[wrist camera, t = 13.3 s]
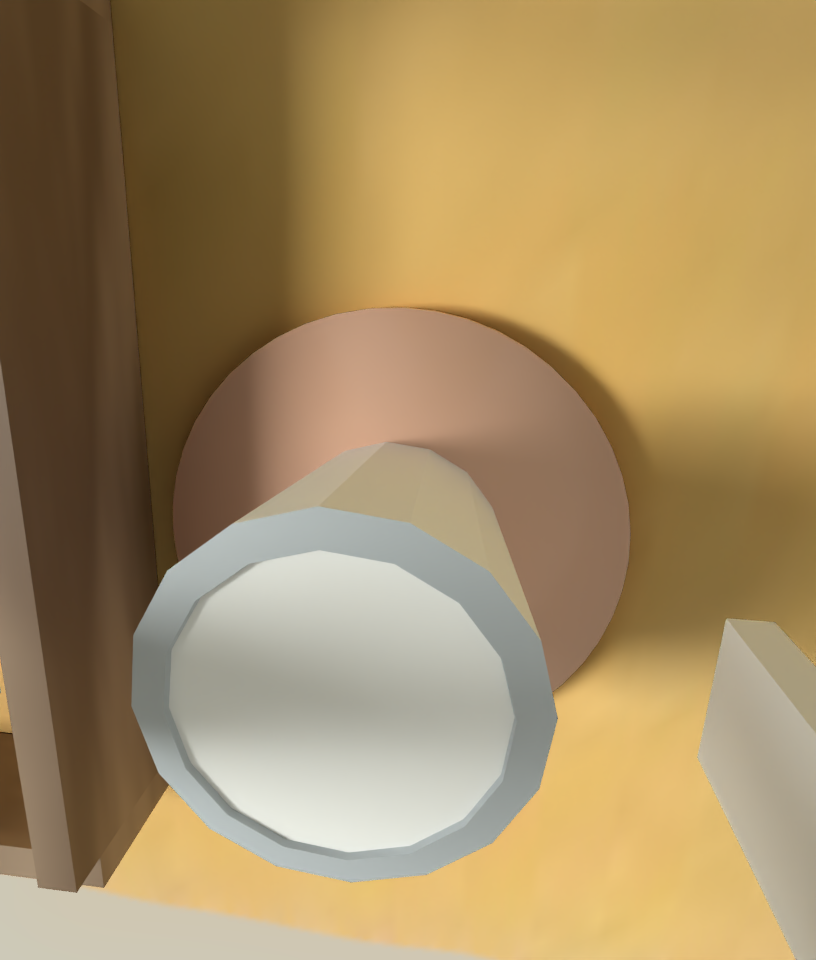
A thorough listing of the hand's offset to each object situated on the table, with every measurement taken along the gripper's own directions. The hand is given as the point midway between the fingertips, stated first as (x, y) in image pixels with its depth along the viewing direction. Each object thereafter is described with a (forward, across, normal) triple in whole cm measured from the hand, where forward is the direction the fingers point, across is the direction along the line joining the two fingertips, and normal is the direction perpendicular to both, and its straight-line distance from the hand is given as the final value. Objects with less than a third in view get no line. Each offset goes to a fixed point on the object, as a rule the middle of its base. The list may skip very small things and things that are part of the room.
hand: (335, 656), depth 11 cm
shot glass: (+6, 0, 0) cm, 6 cm away
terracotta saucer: (+6, 0, 0) cm, 6 cm away
